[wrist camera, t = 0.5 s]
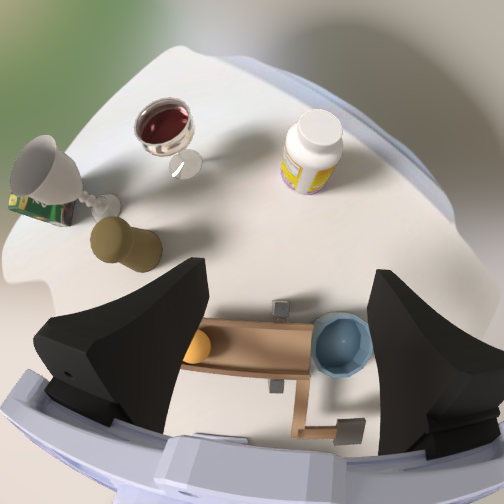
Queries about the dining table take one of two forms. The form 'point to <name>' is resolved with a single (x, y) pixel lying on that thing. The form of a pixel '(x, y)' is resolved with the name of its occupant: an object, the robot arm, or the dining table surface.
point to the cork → (125, 244)
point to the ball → (198, 348)
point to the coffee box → (42, 210)
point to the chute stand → (283, 310)
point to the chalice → (55, 179)
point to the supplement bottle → (311, 151)
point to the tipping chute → (272, 366)
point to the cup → (340, 344)
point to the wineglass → (169, 135)
